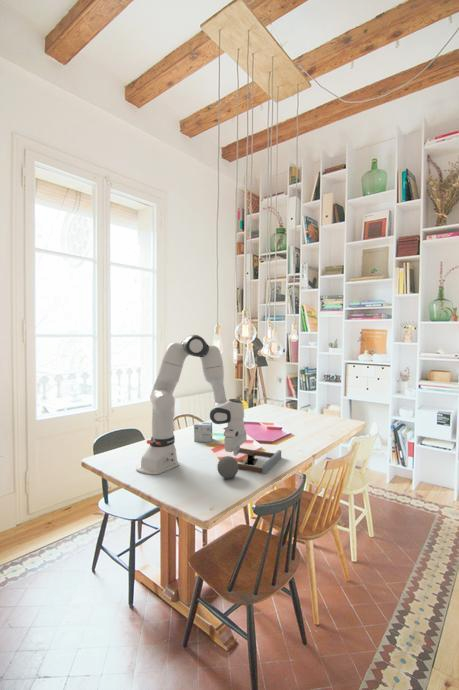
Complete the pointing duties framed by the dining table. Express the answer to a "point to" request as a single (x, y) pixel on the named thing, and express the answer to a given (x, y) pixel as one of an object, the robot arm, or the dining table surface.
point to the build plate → (251, 459)
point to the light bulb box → (203, 432)
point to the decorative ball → (227, 467)
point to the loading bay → (265, 467)
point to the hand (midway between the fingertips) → (236, 454)
